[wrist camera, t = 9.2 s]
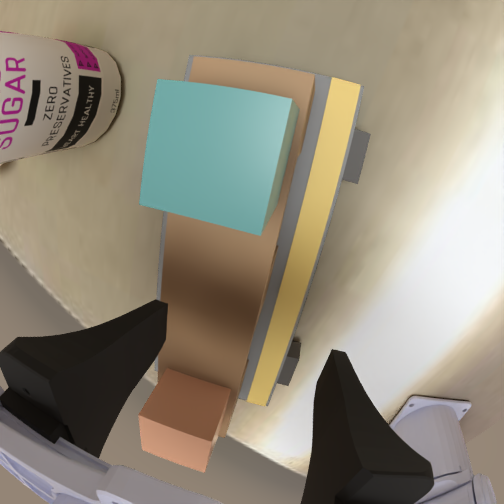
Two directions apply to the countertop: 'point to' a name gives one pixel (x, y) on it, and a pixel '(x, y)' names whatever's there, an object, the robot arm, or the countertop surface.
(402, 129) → the countertop surface
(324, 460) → the robot arm
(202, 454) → the terracotta brick
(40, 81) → the supplement can
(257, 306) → the brown long bar
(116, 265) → the countertop surface
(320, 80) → the dock
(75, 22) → the countertop surface
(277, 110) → the teal crate
